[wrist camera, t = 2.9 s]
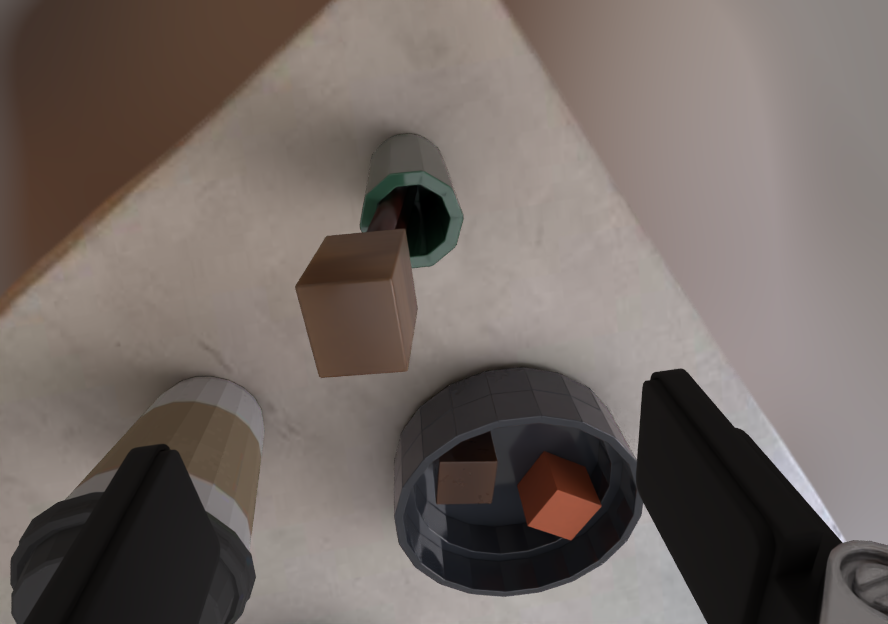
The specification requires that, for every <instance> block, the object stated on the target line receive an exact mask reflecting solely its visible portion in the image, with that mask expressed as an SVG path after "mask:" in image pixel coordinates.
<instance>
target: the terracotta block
mask: <svg viewBox="0 0 888 624" xmlns="http://www.w3.org/2000/svg"><path fill="white" fill-rule="evenodd" d="M517 488H518V491H519V495H520V499H521V503H522V507H523V510H524V514H525V518H526V522H527V526H529V527H532V528H535V529H538V530H541V531H544V532H547V533H550V534H553V535H556V536H559V537H562V538H565V539H568V540H572V539H573V538H574V537H575V536H576V534H577V533H578V532H579V531H580V530H581V529H582V528H583V527H584V526H585V524H586V523H587V522H588V521H589V520H590V519H591V518H592V517H593V515H594V514H595V513H596V512H597V511H598V510H599V509H600V508H601V507H602V505H601V503H600V500H599V498H598V496H597V493H596V491H595V489H594V486H593V484H592V482H591V479H590V477H589V475H588V472H587V470H586V468H585V467H584V466H582V465H579V464H576V463H574V462H571V461H569V460H566V459H563V458H561V457H558V456H556V455H553V454H550V453H548V452H545V451H544V452H543V453H542V454H541V456H540V457H539V458H538V459H537V461H536V462H535V463H534V464H533V466H532V467H531V468H530V470H529V471H528V472H527V473H526V475H525V476H524V477H523V478H522V480H521V481H520V482H519V484H518V485H517Z"/></svg>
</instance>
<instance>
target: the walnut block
mask: <svg viewBox="0 0 888 624" xmlns="http://www.w3.org/2000/svg"><path fill="white" fill-rule="evenodd" d="M497 464H498V460H497V456H496V452H495V448H494V443H493V439H492V435H491V431H489V432H486V433H483V434H481V435H478V436H475V437H473V438H470V439H467V440H465V441H462V442H460V443H459V444H457V445H456V446H454V447H453V448H452V449H450V450H449V451H447V452H446V453H445V454H443V455H442V456H440V457H439V458H437V459H436V460H435V461H433V475H434V486H435V498H436V504H491V503H492V498H493V491H494V484H495V478H496V471H497Z"/></svg>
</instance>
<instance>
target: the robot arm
mask: <svg viewBox="0 0 888 624" xmlns="http://www.w3.org/2000/svg"><path fill="white" fill-rule="evenodd" d="M636 485H637V489H638V492H639V495H640V497H641V499H642V501H643V503H644V505H645V507H646V508H647V510H648V512H649V514H650V516H651V518H652V520H653V522H654V523H655V525H656V527H657V529H658V531H659V533H660V535H661V537H662V539H663V540H664V542H665V544H666V546H667V548H668V550H669V552H670V554H671V556H672V557H673V559H674V561H675V563H676V565H677V567H678V569H679V571H680V572H681V574H682V576H683V578H684V580H685V582H686V584H687V586H688V588H689V589H690V591H691V593H692V595H693V597H694V599H695V601H696V603H697V605H698V606H699V608H700V610H701V612H702V614H703V616H704V618H705V620H706V621H707V623H708V624H888V545H884V544H880V543H876V542H872V541H858V540H853V541H849V542H845V543H842V542H841V540H840V539H839V538H838V537H837V536H836V535H835V534H834V532H833V531H832V530H831V529H830V528H829V527H828V526H827V524H826V523H825V522H824V521H823V520H822V519H821V518H820V516H819V515H818V514H817V513H816V512H815V511H814V510H813V508H812V507H811V506H810V505H809V504H808V503H807V502H806V500H805V499H804V498H803V497H802V496H801V495H800V494H799V492H798V491H797V490H796V489H795V488H794V487H793V486H792V484H791V483H790V482H789V481H788V480H787V479H786V478H785V476H784V475H783V474H782V473H781V472H780V471H779V470H778V468H777V467H776V466H775V465H774V464H773V463H772V462H771V460H770V459H769V458H768V457H767V456H766V455H765V454H764V452H763V451H762V450H761V449H760V448H759V447H758V446H757V444H756V443H755V442H754V441H753V440H752V439H751V438H750V436H749V435H748V434H746V433H745V432H744V431H743V430H741V429H738V428H735V427H734V426H733V425H732V424H731V423H730V422H729V420H728V419H727V418H726V417H725V416H724V415H723V413H722V412H721V411H720V410H719V409H718V408H717V406H716V405H715V404H714V403H713V402H712V400H711V399H710V398H709V397H708V396H707V395H706V393H705V392H704V391H703V390H702V389H701V388H700V386H699V385H698V384H697V383H696V382H695V381H694V379H693V378H692V377H691V376H690V375H689V374H688V372H686V371H685V370H684V369H674V370H667V371H660V372H654V373H653V374H652V376H651V379H650V380H649V381H645V382H644V383H643V388H642V402H641V415H640V429H639V442H638V455H637V469H636ZM219 558H220V543H219V540H218V537H217V535H216V533H215V531H214V529H213V526H212V524H211V522H210V520H209V517H208V515H207V513H206V511H205V509H204V506H203V504H202V502H201V500H200V498H199V495H198V493H197V491H196V489H195V487H194V484H193V482H192V480H191V478H190V476H189V473H188V471H187V469H186V467H185V465H184V462H183V460H182V458H181V456H180V454H179V452H178V451H177V450H171V449H170V448H169V446H167V445H166V444H156V445H149V446H142V447H135V448H133V449H131V450H130V451H129V453H128V454H127V456H126V457H125V459H124V460H123V462H122V464H121V465H120V467H119V469H118V470H117V472H116V473H115V475H114V477H113V478H112V480H111V482H110V483H109V485H108V486H107V488H106V490H105V491H104V493H103V495H102V496H101V498H100V500H99V501H98V503H97V504H96V506H95V508H94V509H93V511H92V513H91V514H90V516H89V517H88V519H87V521H86V522H85V524H84V526H83V527H82V529H81V530H80V532H79V534H78V535H77V537H76V539H75V540H74V542H73V543H72V545H71V547H70V548H69V550H68V552H67V553H66V555H65V556H64V558H63V560H62V561H61V563H60V565H59V566H58V568H57V570H56V571H55V573H54V574H53V576H52V578H51V579H50V581H49V583H48V584H47V586H46V587H45V589H44V591H43V592H42V594H41V596H40V597H39V599H38V600H37V602H36V604H35V605H34V607H33V609H32V610H31V612H30V613H29V615H28V617H27V618H26V620H25V622H24V623H23V624H199V621H200V618H201V615H202V612H203V609H204V605H205V602H206V599H207V596H208V593H209V590H210V587H211V584H212V581H213V577H214V574H215V571H216V568H217V565H218V562H219Z"/></svg>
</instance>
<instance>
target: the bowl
mask: <svg viewBox="0 0 888 624" xmlns="http://www.w3.org/2000/svg"><path fill="white" fill-rule="evenodd" d="M489 431H491V435H492V439H493V443H494V448H495V452H496V456H497V460H498V464H497V471H496V478H495V484H494V491H493V498H492V503H491V504H436V498H435V486H434V475H433V461H435V460H436V459H437V458H439V457H440V456H442V455H443V454H445V453H446V452H447V451H449V450H450V449H452V448H453V447H454V446H456V445H457V444H459V443H460V442H462V441H465V440H467V439H470V438H473V437H475V436H478V435H481V434H483V433H486V432H489ZM544 451H545V452H548V453H550V454H553V455H556V456H558V457H561V458H563V459H566V460H569V461H571V462H574V463H576V464H579V465H582V466H584V467H585V468H586V470H587V472H588V475H589V477H590V479H591V482H592V484H593V486H594V489H595V491H596V493H597V496H598V498H599V500H600V503H601V505H602V507H601V508H600V509H599V510H598V511H597V512H596V513H595V514H594V515H593V517H592V518H591V519H590V520H589V521H588V522H587V523H586V524H585V526H584V527H583V528H582V529H581V530H580V531H579V532H578V533H577V534H576V536H575V537H574V538H573V539H572V540H568V539H565V538H562V537H559V536H556V535H553V534H550V533H547V532H544V531H541V530H538V529H535V528H532V527H529V526H527V522H526V518H525V514H524V510H523V507H522V503H521V499H520V495H519V491H518V488H517V485H518V484H519V482H520V481H521V480H522V478H523V477H524V476H525V475H526V473H527V472H528V471H529V470H530V468H531V467H532V466H533V464H534V463H535V462H536V461H537V459H538V458H539V457H540V456H541V454H542V453H543V452H544ZM636 469H637V460H636V458H635V456H634V454H633V452H632V451H631V449H630V447H629V445H628V443H627V442H626V440H625V438H624V436H623V434H622V433H621V431H620V429H619V427H618V425H617V423H616V422H615V420H614V418H613V416H612V414H611V413H610V411H609V409H608V408H607V407H606V406H605V405H604V404H603V403H602V401H601V400H600V399H599V398H598V397H597V396H596V395H595V394H594V393H593V392H592V390H591V389H590V388H588V387H586V386H584V385H582V384H580V383H578V382H576V381H574V380H572V379H570V378H568V377H566V376H564V375H562V374H559V373H556V372H550V371H544V370H538V369H532V368H526V367H524V368H523V367H519V368H510V369H501V370H492V371H485V372H482V373H479V374H477V375H474V376H472V377H469V378H466V379H464V380H461V381H459V382H456V383H453V384H451V385H450V386H447V387H446V388H445V389H443V390H442V391H441V392H439V393H438V394H437V395H435V396H434V397H433V398H431V399H430V400H429V401H427V402H426V403H425V404H423V405H422V406H421V407H419V409H418V410H417V412H416V413H415V414H414V416H413V417H412V419H411V420H410V421H409V423H408V424H407V426H406V427H405V428H404V430H403V431H402V433H401V436H400V440H399V444H398V448H397V452H396V456H395V460H394V519H395V525H396V531H397V536H398V542H399V545H400V546H401V548H402V549H403V551H404V552H405V553H406V555H407V556H408V558H409V559H410V561H411V562H412V564H413V565H414V566H415V568H417V569H418V570H420V571H421V572H423V573H424V574H426V575H427V576H429V577H430V578H431V579H433V580H434V581H436V582H437V583H439V584H441V585H444V586H447V587H451V588H454V589H457V590H460V591H463V592H466V593H469V594H477V595H490V596H502V597H504V596H505V597H506V596H514V595H522V594H530V593H539V592H542V591H545V590H549V589H552V588H555V587H558V586H561V585H564V584H567V583H570V582H573V581H575V580H576V579H578V578H580V577H581V576H583V575H585V574H587V573H588V572H590V571H592V570H594V569H595V568H597V567H599V566H600V565H602V564H603V563H605V562H606V561H607V560H608V559H609V558H610V557H611V556H612V555H613V554H614V553H615V552H616V551H617V550H618V549H619V548H620V547H621V546H622V545H623V544H624V543H626V541H627V540H628V538H629V537H630V535H631V533H632V531H633V530H634V528H635V526H636V524H637V522H638V521H639V519H640V517H641V514H642V507H643V501H642V499H641V497H640V495H639V492H638V489H637V485H636Z"/></svg>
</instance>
